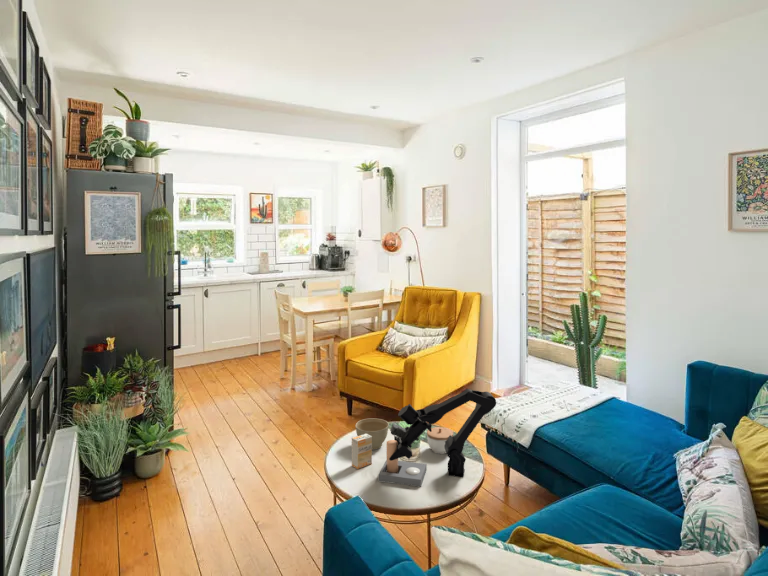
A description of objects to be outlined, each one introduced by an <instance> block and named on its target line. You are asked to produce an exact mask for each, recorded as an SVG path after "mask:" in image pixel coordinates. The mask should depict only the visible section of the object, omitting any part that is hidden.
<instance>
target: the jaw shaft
mask: <svg viewBox="0 0 768 576" xmlns="http://www.w3.org/2000/svg"><path fill="white" fill-rule="evenodd" d="M396 444H397V445H398V441H396V440H394V439H389V440H387V441H386V460H387V471H386V472H388V473H396V474H399V472H398V461H399V458H398V459H395V460H392V461H390V460H389V458H390V457H391V455H392V454H393V453H394V451H395V450H396Z"/></svg>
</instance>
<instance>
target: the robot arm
mask: <svg viewBox="0 0 768 576" xmlns="http://www.w3.org/2000/svg"><path fill="white" fill-rule="evenodd" d="M468 402H472V403H475V406H474V409H473V410H472V411H471V413H470V415H469V416H468V417H467V419H466V420H465V421H464V423H463V424H462V426H461V428H459V430H458V432H457V433H456V434H455V435H453V437H452V436H451V435H450V436H449V437H448V439H447V440H446V441H445V446H444V447H445V451H446V453H445V454H446V455H447V457H448V458H449V460H447V461H448V462H447V473H448V476H451V477H460V478H464V477H465V470H466V469H465V463H466V457H465V455H464V453H463V450H464V446H465V443H466V441H467V440H468V438H469V437H470V435H471V434H472V433H473V431H474V430H475V428H476V427H477V425H478V424H479V423H480V421H481V420H482V419H483V417H484V416H485V415H487V414H489V413H490V412H491V411H493V410H494V408H496V405H497V400H496V398H495V397H494V396H493V394H492V393H491V392H489V391H480V390H476V389H475V390H473V389H471V388H466V389H465V390H464V391H461V392H460V393H458V394H455V395H454V396H452V397H451V398H447V400H445V401H443V402H440V403H436V404H431V405H428V406H426V407H425V408H421V409H415V408H414V407H413V406H412V404H411V403H409V404H408V405H405V406H403V407H402V408H401V409H400V410H399V412H398V415H397V416H398V417H399V418H400V419H401V420H402V421H403V422H405V424H407V425H410V426H405V427H403V426H400V425H398V424H396V423H393V424H392V426H391V427H390V434H391V435H392V436H394V437H393V440H396V441H398V445H397V444H396V450H395V451H394V453H393V454H392V455H391V457H390V458H389V460H390V461H392V460H395V459H398V460H399V459H401V458H404V457H406V459H408V460H410V458H412V457H413V451H412V449H411V448H412V447H413V443H414V442H415V441H416V442H418V441H419V437H420V436H421V435H422V434H423V433H425V431H426V430H427V431H428V430H429V431H430V432H431V431H432V430H431V428H433V427H432V425H433V424H436V423H438V422H439V421H441V419H443V417H444V416H445V415H446V414H448V413H449V412H451V411H453V410H455V409H457V408H459V407H461V406H462V405H465V404H467V403H468Z"/></svg>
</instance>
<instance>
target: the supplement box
mask: <svg viewBox="0 0 768 576" xmlns="http://www.w3.org/2000/svg"><path fill="white" fill-rule="evenodd" d="M372 456H373V449H372V436H370V435H368V434H363V435H360V436H357V435H356V436H354V437H351V466H352V467H353V468H355V469H357V470H359V469H361V468H364V467H367V466H369V465H372V464H373V462H372V461H373V457H372Z"/></svg>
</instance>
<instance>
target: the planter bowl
mask: <svg viewBox="0 0 768 576" xmlns="http://www.w3.org/2000/svg"><path fill="white" fill-rule="evenodd" d="M355 431H356V437H357V436H360V435H363V434H368V435H370V436H372V450H377V449H380V448H382V446H383V443H384V442H385V440H386V438H387V435H388V432H389V422H388V421H387V420H384V419H382V418H376V417H375V418H373V417H372V418H364V419H361V420H358V421H357V422H356V423H355Z"/></svg>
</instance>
